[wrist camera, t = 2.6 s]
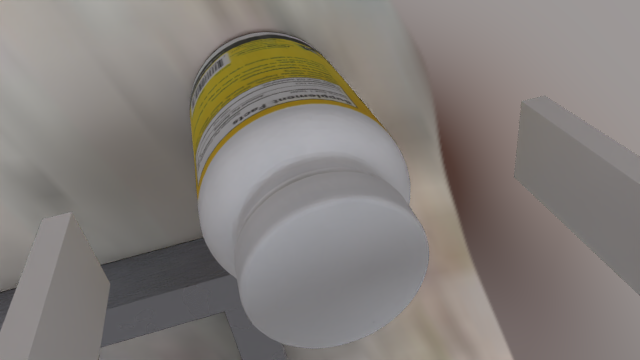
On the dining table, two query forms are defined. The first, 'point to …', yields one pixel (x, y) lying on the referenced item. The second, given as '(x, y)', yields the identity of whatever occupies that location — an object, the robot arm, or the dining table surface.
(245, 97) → the pill bottle
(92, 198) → the dining table surface
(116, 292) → the low gray tray
